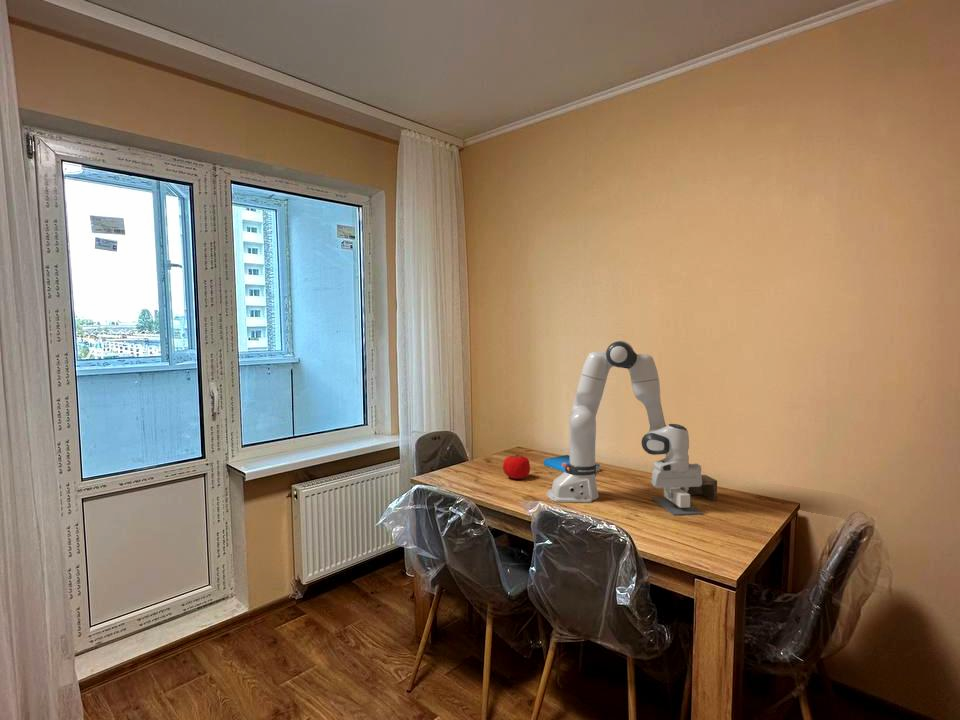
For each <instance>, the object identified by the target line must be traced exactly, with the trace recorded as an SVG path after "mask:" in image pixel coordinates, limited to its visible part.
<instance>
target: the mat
mask: <svg viewBox="0 0 960 720" xmlns="http://www.w3.org/2000/svg"><path fill="white" fill-rule="evenodd" d="M651 500H652V501H653V500H654V502H655V503H656V504H657V505H659V506H660V507H661V506H662V509H664V510H665V509H666V511H667V512H668V513H669V512H670V514H671V515H672V516H673V515H674V516H675V515H678V516H695V515H697V514H700V515H704V512H702V511H701V510H699V509H698V508H696V507H695V506H694V505H692V504H690V507H685V508H680V507H679V506H677V505H676V504H674V503H673V502H671V501H670V500H669V499H667V498H666V497H655V498H654V497H652V498H651Z"/></svg>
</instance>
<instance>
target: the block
mask: <svg viewBox="0 0 960 720" xmlns="http://www.w3.org/2000/svg"><path fill="white" fill-rule="evenodd" d="M669 491H670V493H672V494H673V498H668V493H667V491H666V490H665V488H663V498H667V499H669V500H670V501H671V502H673V503H674V504H676V505H677V506H679V507H680V508H685V507H690V505H691V495H690V494H688V493H686V492H685V491H683V490H682V489H680V487H678V488H671V490H669Z"/></svg>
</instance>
